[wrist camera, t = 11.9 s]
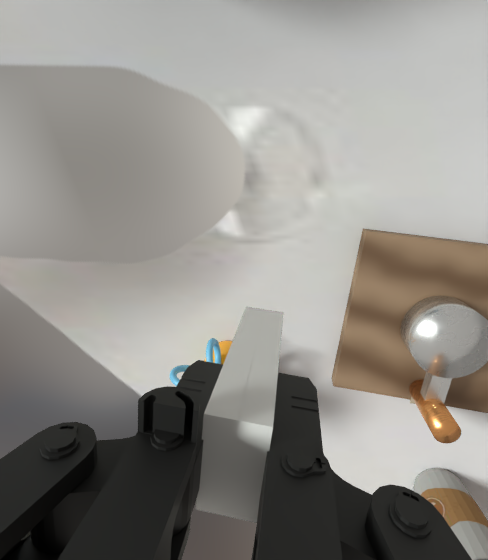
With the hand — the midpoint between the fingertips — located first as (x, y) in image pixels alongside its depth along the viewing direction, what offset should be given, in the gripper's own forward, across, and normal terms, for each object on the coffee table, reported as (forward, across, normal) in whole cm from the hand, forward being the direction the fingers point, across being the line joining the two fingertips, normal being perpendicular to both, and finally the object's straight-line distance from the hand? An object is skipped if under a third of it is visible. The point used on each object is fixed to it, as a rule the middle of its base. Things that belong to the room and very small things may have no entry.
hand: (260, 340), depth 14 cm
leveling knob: (+26, -19, +11) cm, 34 cm away
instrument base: (+28, -19, +8) cm, 35 cm away
